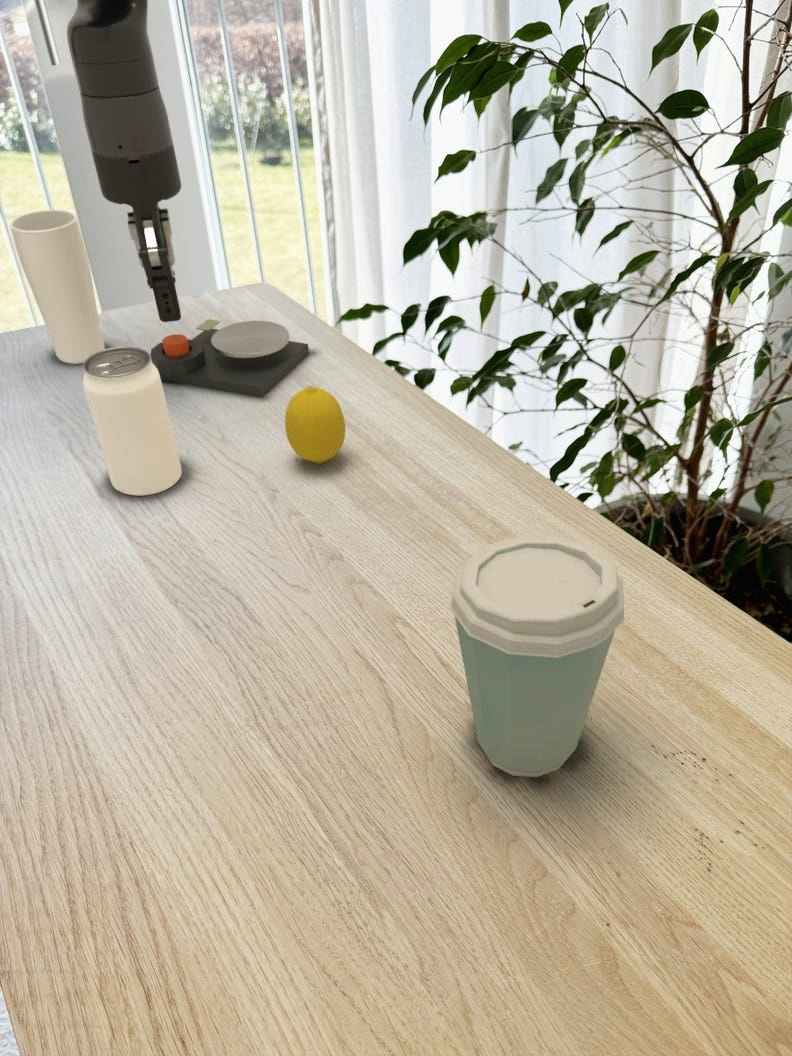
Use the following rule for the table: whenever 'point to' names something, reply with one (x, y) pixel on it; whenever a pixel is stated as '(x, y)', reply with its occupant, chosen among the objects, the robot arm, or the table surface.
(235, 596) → the table surface
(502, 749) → the disposable coffee cup
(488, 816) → the table surface
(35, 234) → the drinking glass
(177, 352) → the tare button
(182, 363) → the scale
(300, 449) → the lemon
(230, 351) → the weighing pan
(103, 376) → the can
